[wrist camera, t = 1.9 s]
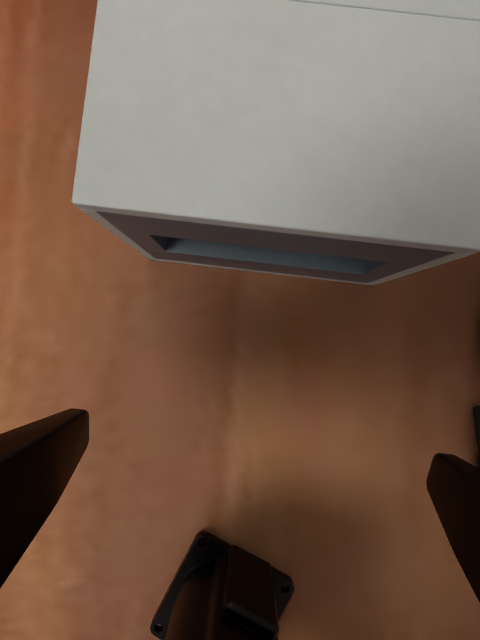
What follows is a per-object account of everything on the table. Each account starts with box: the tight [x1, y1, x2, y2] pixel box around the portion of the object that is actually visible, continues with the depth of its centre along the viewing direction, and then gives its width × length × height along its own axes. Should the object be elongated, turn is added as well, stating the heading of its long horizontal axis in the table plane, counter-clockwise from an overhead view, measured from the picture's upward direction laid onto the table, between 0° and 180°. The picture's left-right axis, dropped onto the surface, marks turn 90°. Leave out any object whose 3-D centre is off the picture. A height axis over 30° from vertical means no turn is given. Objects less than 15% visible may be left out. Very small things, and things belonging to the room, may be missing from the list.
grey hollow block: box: [72, 0, 480, 286], centre depth 15 cm, size 9×14×9 cm, turn 83°
